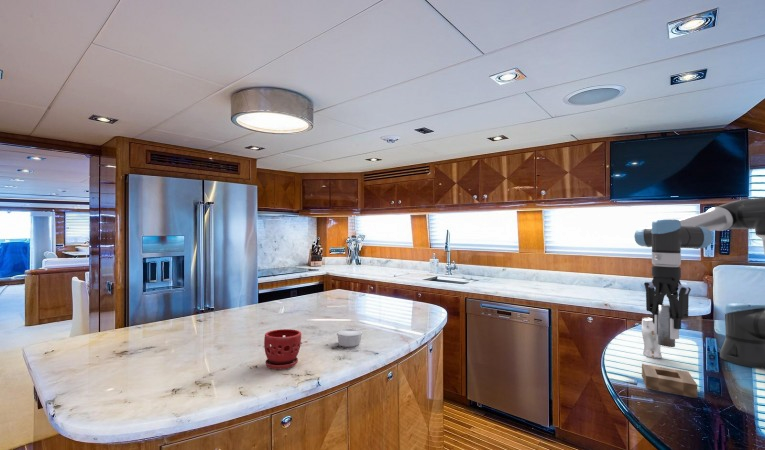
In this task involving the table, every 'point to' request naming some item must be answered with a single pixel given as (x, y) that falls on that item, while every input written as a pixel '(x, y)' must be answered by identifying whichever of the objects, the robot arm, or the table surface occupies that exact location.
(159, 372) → the table surface
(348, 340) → the ramekin
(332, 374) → the table surface
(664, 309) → the steel peg
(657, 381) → the socket block
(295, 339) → the plant pot
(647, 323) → the beer glass
